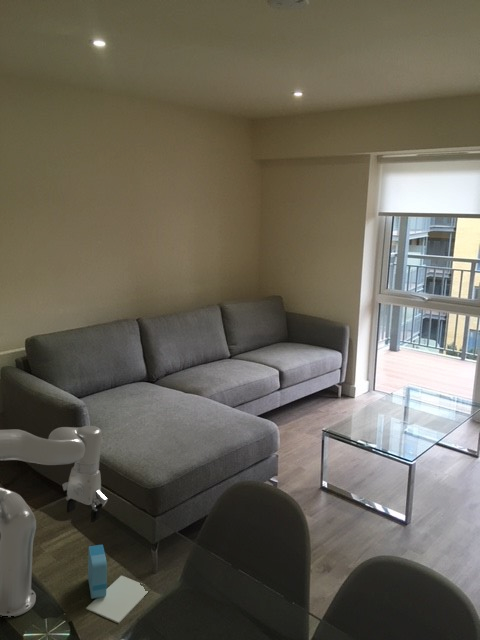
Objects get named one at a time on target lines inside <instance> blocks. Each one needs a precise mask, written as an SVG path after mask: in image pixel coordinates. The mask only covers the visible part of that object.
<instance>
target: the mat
mask: <svg viewBox="0 0 480 640" xmlns="http://www.w3.org/2000/svg"><path fill="white" fill-rule="evenodd" d="M140 583H141V582H138V581H136V580H134V579H131V578H129V577H126V576H124V575H120V576H119V577H118V578H117V579H116V580H114V582H113V583H111V584H110V585H109V586H108V587H106V596H104V597H99V598H94V600H93V601H92V602H91V603H90V604H88V606H87V607H85V608H86V610H87V611H89V612H92V613H94V614H97V615H98V616H101V617H103V618H105V619H107V620H109V621H112V622H114V623H117V624H120V623H121V622H122V621H123V620H125V618H126V617H127V616H128V615H129V614H130V613H131V612H132V611H133V609H135V608H136V606H137V605H138V604H140V602H141V601H142V600H143V599H145V597H146V596H147V595H148V594H149V593H148V591H145V589H144V587H143V586H141V585H140ZM147 593H148V594H147ZM146 594H147V595H146ZM145 595H146V596H145ZM144 596H145V597H144Z"/></svg>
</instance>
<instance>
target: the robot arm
mask: <svg viewBox="0 0 480 640" xmlns="http://www.w3.org/2000/svg"><path fill="white" fill-rule="evenodd" d="M102 434H103V433H102V430H101V428H100V427H98V426H95V425H85V426H81V427H77V426H76V427H75V426H73V427H72V426H71V427H69V426H61V427H57V428H55V429H53V430H52V431H51V432H50V434H49V435H48V437H47V438H43V437H40V436H37V435H34V434H32V433H30V432H28V431H26V430H22V429H19V428H18V429H13V428H12V429H0V461H20V462H21V461H22V462H25V463H33V464H38V465H39V464H40V465H43V466H57V465H58V466H60V465H70V464H73V463H74V466H73V467H71V470H70V474H69V476H68V482H64V483H62V489H63V493H64V496H65V500H66V501H67V504H66V513H67V514H69V513H72V512H73V511H74V510H76V502H78V503H82V504H84V505H87V506H91V508H92V510H91V512H90V514H91V515H90V523H94V522H96V521H99V518H100V513H101V512H100V511H101V509H102V508H103V507H105V506H106V504H107V502H108V500H109V499H108V498H107V497H106V496H105V494H103V493H102V479H101V477H102V476H101V475H102V474H101V471H100V470H99V469H100V458H101V449H102V448H101V447H102V439H103V438H102ZM36 530H37V521H36V516H35V514H34V512H33V510H32V509H31V508H30V506H29V505H28V503H27V501H25V499H24V498H23V497H22V496H21V495H20V494H19V493H18V492H16V491H12V490H10V489H7V488H4V487H0V615H2V616H8V617H7V618H12V617H11V616H14V617H17V616H21V615H23V614H25V613H27V612H28V611H30V610H32V608H34V605H35V604H36V600H37V599H36V598H37V595H36V592H35V591H34V590H33V589H32V576H33V575H32V572H33V571H32V570H33V552H34V550H33V547H34V538H35V534H36ZM2 616H1V617H2Z"/></svg>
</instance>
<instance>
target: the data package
mask: <svg viewBox="0 0 480 640" xmlns="http://www.w3.org/2000/svg"><path fill="white" fill-rule="evenodd" d="M87 549H88V550H87V551H88V553H87V554H88V555H87V560H88V562H87V579H88V586H89V591H90V593H89V594H90V598H91V600H93V599H96V598H99V597H104V596H106V589H107V585H108V584H107V579H108V578H107V575H108V572H107V571H108V564H107V563H108V562H107V558H106V552H105V548H104V545H103V544H96V545H92V546H91V545H90V546H88V548H87Z"/></svg>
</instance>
